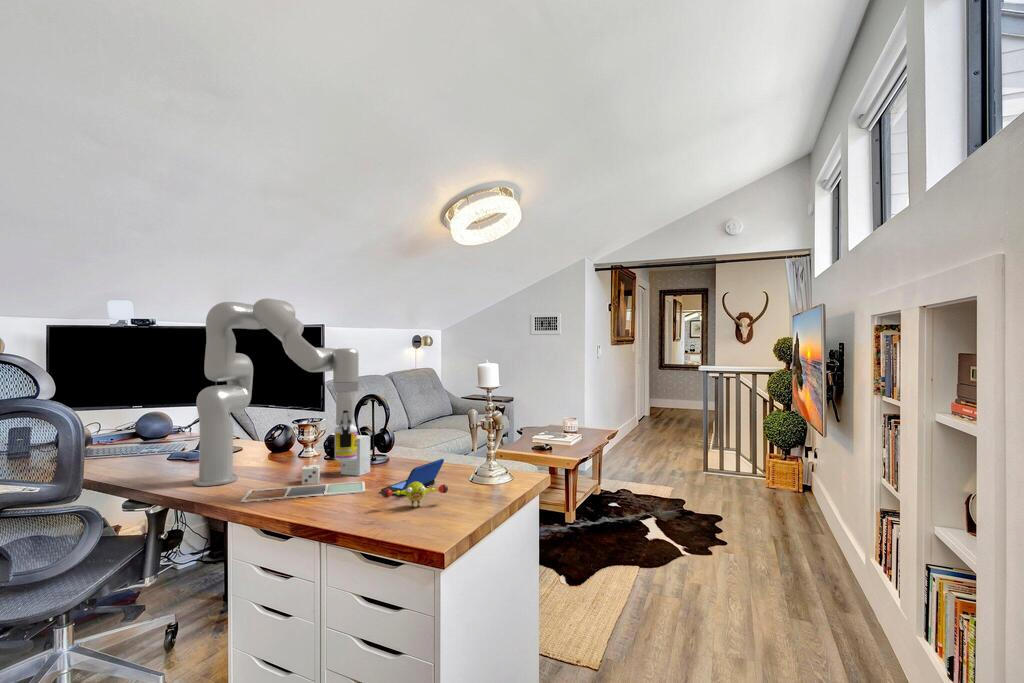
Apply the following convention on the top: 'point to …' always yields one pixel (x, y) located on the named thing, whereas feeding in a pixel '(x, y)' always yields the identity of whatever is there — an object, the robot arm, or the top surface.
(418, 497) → the toy figure
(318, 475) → the die
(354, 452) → the supplement bottle
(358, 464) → the small box
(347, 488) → the board
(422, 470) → the handheld game console
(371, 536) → the top surface
